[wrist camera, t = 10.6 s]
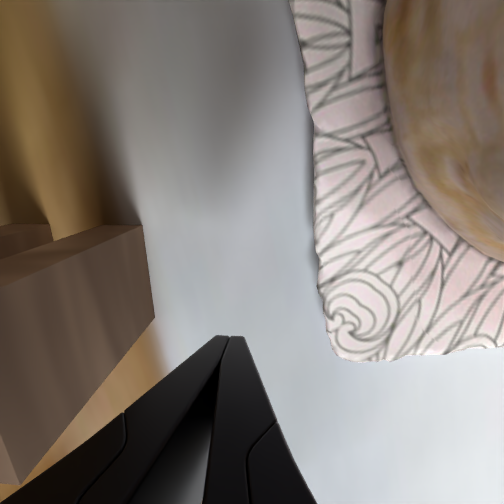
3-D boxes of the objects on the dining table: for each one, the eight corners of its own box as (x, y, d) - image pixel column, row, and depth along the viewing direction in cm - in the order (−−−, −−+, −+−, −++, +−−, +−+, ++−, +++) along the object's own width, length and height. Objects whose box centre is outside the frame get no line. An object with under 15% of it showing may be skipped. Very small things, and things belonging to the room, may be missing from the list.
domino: (142, 225, 13) (-48, 309, 5) (154, 317, 14) (20, 485, 7) (102, 224, 13) (-137, 305, 6) (118, 316, 15) (-52, 478, 7)
